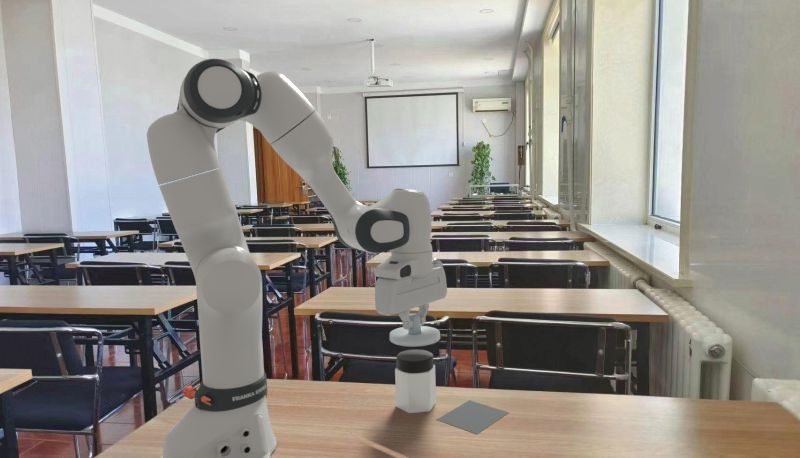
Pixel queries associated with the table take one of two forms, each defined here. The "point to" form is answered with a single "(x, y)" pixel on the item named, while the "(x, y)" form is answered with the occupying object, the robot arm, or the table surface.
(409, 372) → the jar
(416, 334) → the lid
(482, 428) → the mat
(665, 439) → the table surface
